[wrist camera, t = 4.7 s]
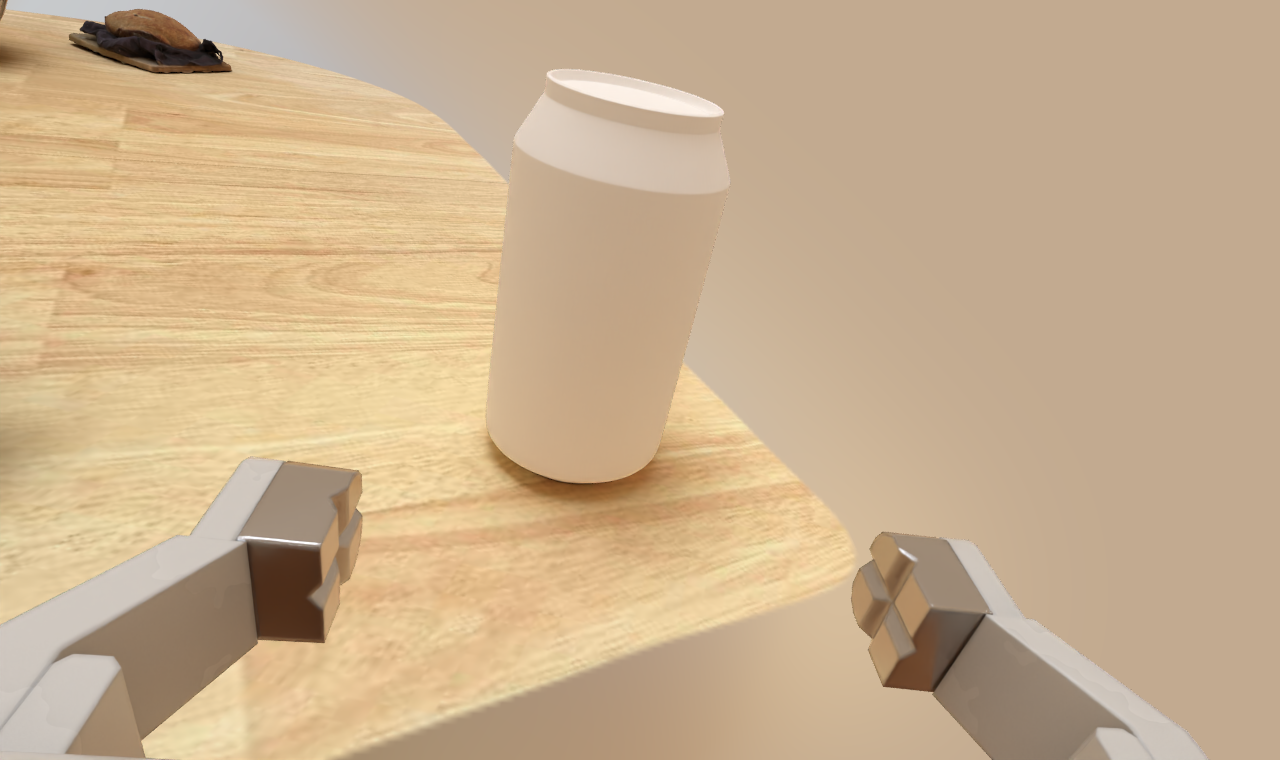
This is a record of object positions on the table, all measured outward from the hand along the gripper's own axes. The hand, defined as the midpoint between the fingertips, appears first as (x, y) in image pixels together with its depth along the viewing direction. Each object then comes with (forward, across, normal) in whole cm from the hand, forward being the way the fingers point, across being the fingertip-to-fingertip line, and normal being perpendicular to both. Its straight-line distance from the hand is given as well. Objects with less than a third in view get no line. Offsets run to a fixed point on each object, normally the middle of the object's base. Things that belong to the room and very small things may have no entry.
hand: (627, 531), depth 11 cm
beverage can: (+12, 0, +8) cm, 14 cm away
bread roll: (+61, +38, +8) cm, 72 cm away
